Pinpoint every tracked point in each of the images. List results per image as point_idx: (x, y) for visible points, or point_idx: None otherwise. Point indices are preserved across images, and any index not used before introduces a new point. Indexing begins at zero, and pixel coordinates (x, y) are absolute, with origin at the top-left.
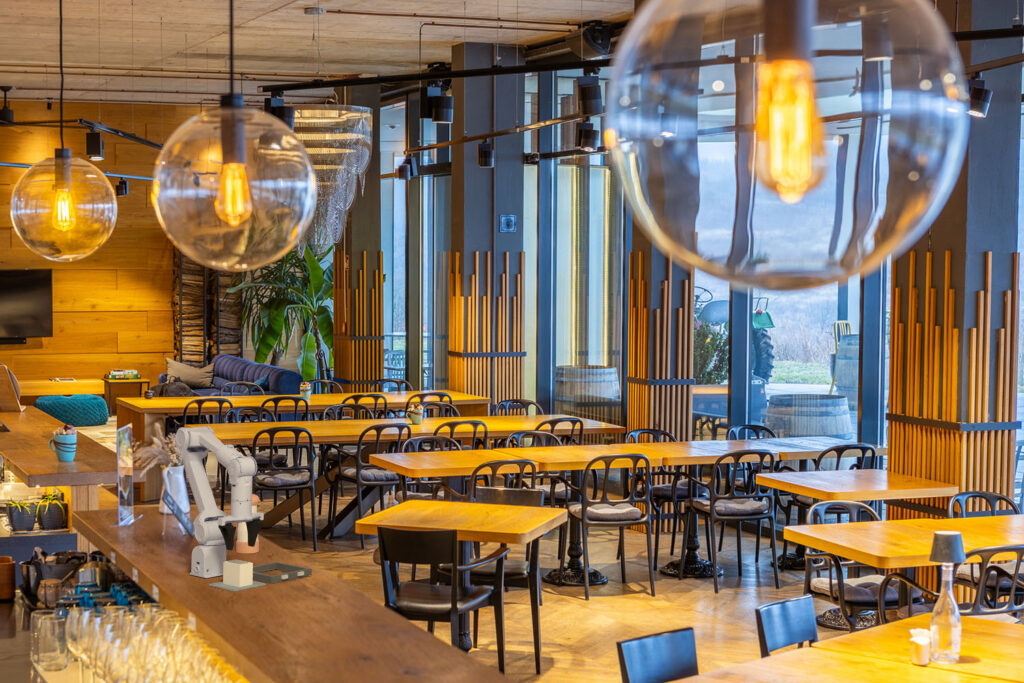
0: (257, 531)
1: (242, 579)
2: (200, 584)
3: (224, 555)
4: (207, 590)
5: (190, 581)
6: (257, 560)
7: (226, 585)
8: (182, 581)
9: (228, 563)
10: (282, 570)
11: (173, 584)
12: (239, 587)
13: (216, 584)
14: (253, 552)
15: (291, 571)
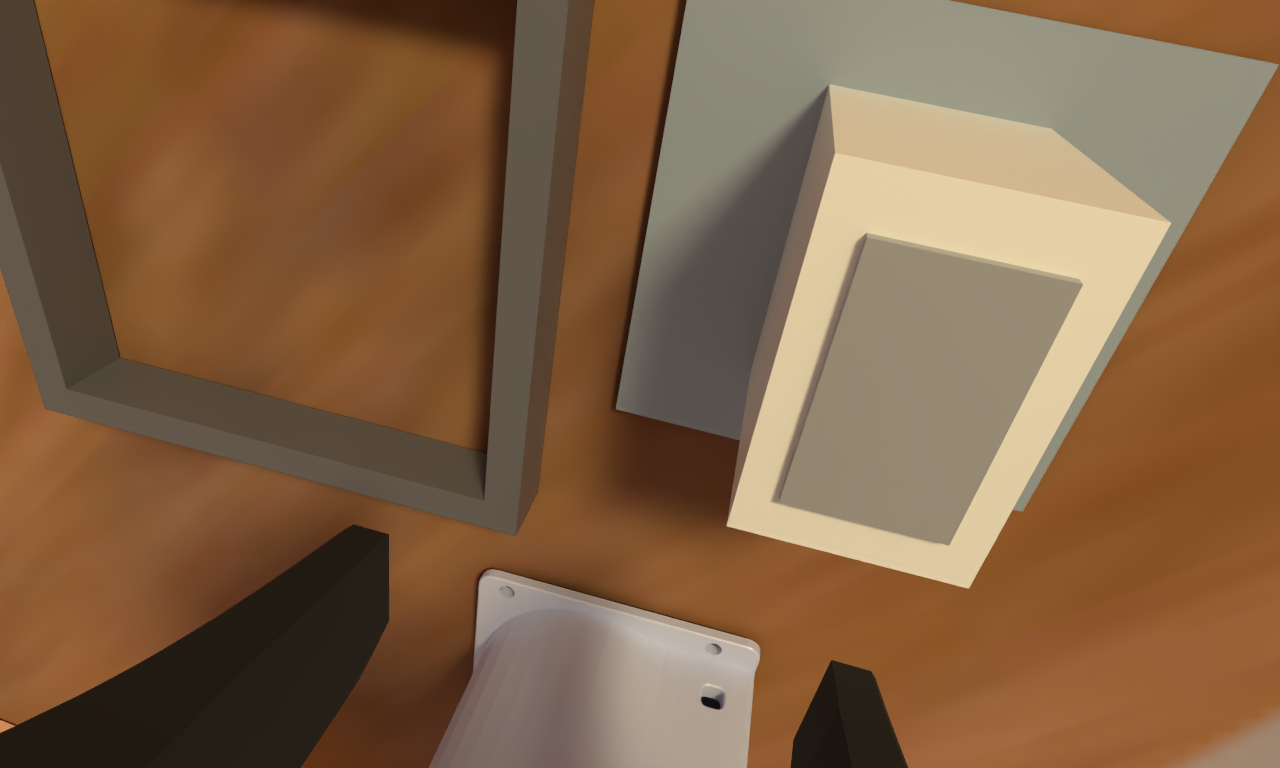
0: (99, 733)
1: (1025, 140)
2: (990, 583)
3: (502, 747)
4: (1270, 395)
5: (908, 690)
6: (82, 625)
7: None
8: (935, 733)
9: (1013, 493)
10: (100, 285)
11: (1077, 742)
12: (1074, 114)
13: None
14: (3, 725)
15: (60, 157)
